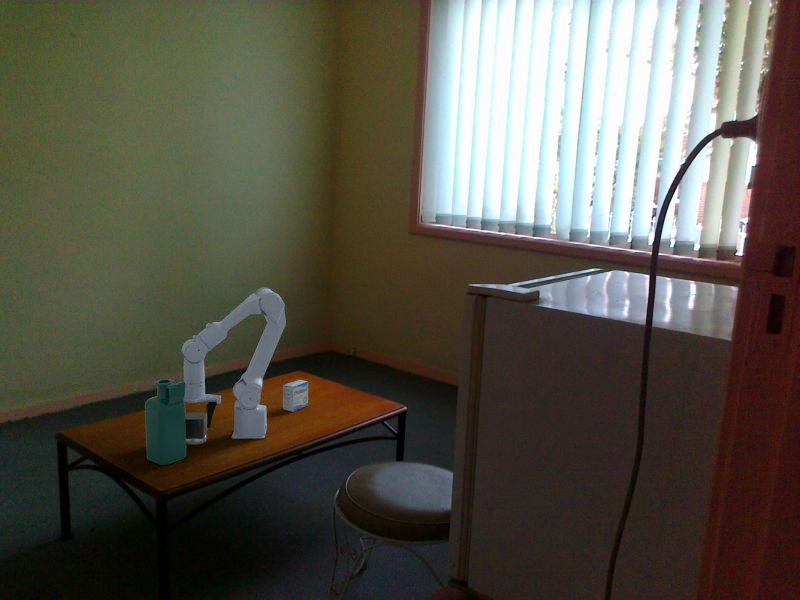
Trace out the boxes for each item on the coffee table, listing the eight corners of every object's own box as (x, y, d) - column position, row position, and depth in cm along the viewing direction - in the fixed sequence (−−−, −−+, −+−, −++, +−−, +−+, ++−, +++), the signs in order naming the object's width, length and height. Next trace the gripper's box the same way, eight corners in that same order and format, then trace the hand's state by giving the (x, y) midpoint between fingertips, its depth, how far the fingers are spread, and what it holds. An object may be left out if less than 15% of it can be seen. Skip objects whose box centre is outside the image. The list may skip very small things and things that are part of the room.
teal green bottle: (143, 459, 192) (140, 380, 188) (169, 449, 199) (167, 374, 195) (167, 468, 186) (164, 388, 183) (192, 458, 193) (190, 380, 189)
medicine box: (293, 412, 232) (293, 387, 231) (282, 409, 235) (282, 384, 233) (308, 406, 239) (308, 381, 237) (298, 403, 241) (298, 379, 240)
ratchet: (194, 424, 219) (194, 409, 218) (214, 424, 220) (214, 409, 219) (183, 445, 203) (182, 429, 202) (204, 444, 203) (204, 428, 202)
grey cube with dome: (187, 431, 208) (187, 412, 207) (207, 431, 209) (206, 412, 208) (183, 438, 203) (183, 419, 202) (203, 438, 203) (203, 419, 202)
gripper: (165, 385, 198) (166, 431, 201) (217, 385, 199) (218, 431, 202) (170, 378, 205) (172, 423, 207) (222, 378, 206) (222, 423, 209)
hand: (195, 426), depth 205 cm, fingers open, 7 cm apart
